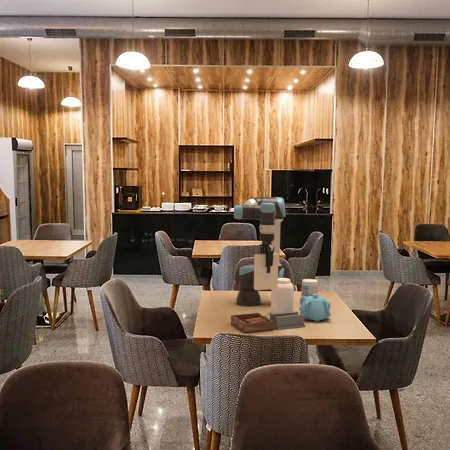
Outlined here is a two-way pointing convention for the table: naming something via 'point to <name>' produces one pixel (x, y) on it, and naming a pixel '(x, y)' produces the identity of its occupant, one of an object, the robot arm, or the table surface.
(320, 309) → the decorative pot
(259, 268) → the tall board
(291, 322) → the slot holder
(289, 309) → the white jar
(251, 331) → the brown wooden tray
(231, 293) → the table surface
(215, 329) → the table surface
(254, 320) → the cherry offcut
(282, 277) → the robot arm
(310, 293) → the supplement tub
